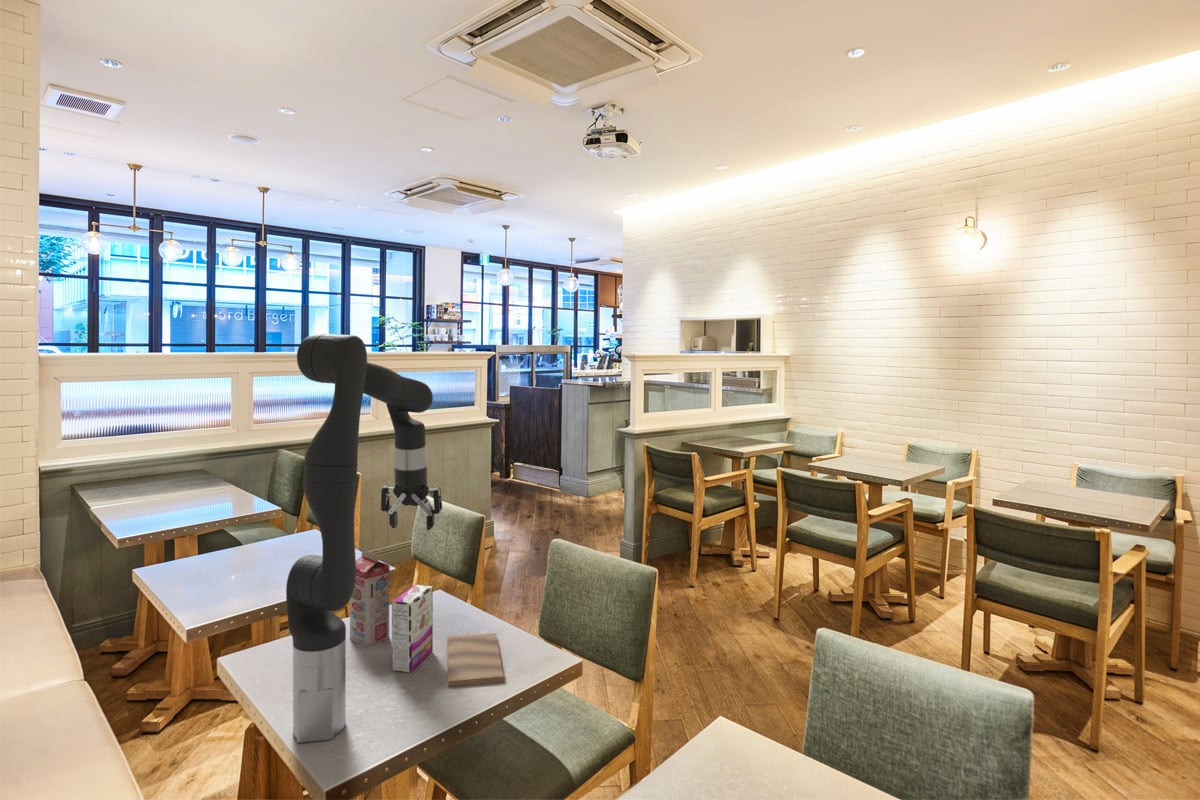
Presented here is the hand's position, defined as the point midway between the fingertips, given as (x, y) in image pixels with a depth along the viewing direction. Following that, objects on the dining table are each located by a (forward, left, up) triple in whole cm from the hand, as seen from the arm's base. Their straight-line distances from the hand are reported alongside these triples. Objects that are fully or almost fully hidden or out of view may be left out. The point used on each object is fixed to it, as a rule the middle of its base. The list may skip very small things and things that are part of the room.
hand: (412, 528), depth 156 cm
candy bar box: (-9, -1, -29) cm, 31 cm away
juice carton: (+5, +10, -29) cm, 31 cm away
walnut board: (-11, -15, -29) cm, 35 cm away
